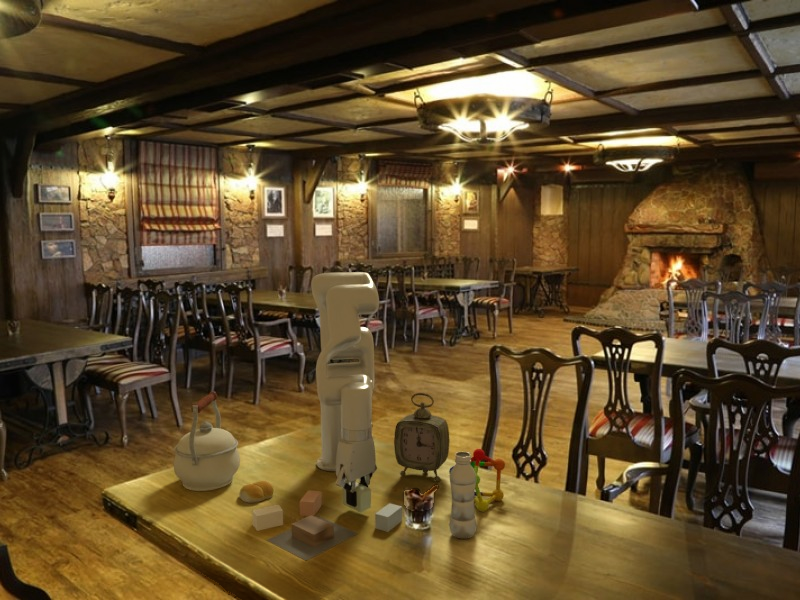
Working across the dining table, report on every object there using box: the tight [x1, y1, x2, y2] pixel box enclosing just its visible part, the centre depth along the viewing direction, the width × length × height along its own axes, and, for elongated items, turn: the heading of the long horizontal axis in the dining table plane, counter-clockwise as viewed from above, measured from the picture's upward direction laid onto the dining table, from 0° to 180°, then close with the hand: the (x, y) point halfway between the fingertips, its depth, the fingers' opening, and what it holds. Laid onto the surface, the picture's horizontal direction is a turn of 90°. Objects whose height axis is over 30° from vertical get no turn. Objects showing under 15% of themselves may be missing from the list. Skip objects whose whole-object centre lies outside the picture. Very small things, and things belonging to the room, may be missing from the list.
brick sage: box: [341, 481, 372, 513], centre depth 160 cm, size 6×4×5 cm, turn 49°
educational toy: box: [448, 448, 506, 512], centre depth 168 cm, size 16×13×15 cm
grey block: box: [374, 502, 403, 533], centre depth 154 cm, size 6×4×5 cm, turn 149°
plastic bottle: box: [448, 451, 478, 540], centre depth 150 cm, size 6×7×20 cm
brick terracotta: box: [299, 490, 323, 517], centre depth 162 cm, size 6×4×5 cm, turn 169°
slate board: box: [266, 515, 359, 562], centre depth 149 cm, size 16×14×1 cm
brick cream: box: [251, 504, 284, 532], centre depth 155 cm, size 6×4×5 cm, turn 119°
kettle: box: [173, 391, 241, 492], centre depth 184 cm, size 25×18×25 cm
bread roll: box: [238, 480, 275, 504], centre depth 174 cm, size 8×9×4 cm
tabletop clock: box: [393, 392, 451, 483], centre depth 186 cm, size 14×9×25 cm, turn 67°
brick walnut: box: [291, 515, 334, 547], centre depth 148 cm, size 6×8×3 cm
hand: (357, 501), depth 160 cm, fingers closed on brick sage, 3 cm apart
